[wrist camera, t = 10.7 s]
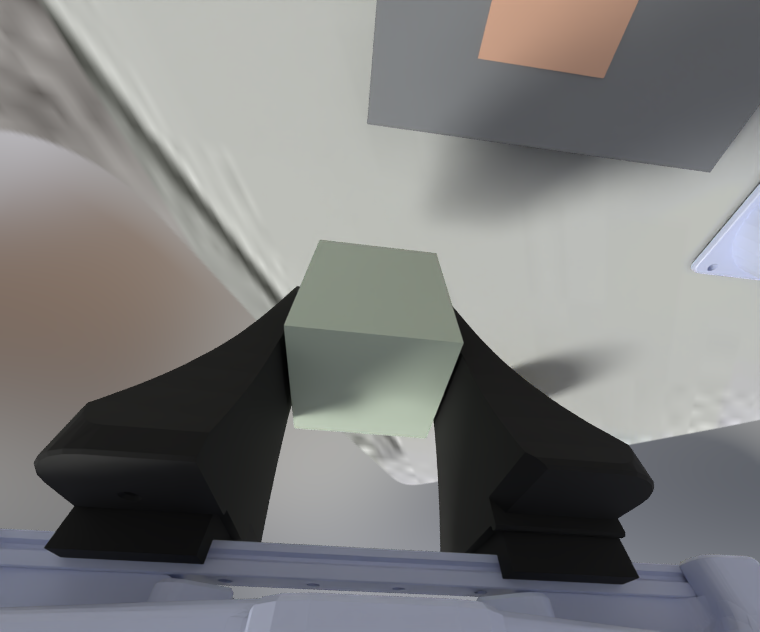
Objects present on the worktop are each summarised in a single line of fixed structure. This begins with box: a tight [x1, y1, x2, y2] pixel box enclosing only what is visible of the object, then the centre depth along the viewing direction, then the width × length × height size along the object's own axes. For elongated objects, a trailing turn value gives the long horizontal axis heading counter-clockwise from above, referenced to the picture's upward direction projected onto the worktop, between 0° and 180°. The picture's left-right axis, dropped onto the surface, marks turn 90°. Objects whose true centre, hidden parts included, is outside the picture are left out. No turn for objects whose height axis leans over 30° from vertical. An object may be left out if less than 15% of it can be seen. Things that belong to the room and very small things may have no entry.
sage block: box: [284, 240, 464, 438], centre depth 11 cm, size 4×4×5 cm
